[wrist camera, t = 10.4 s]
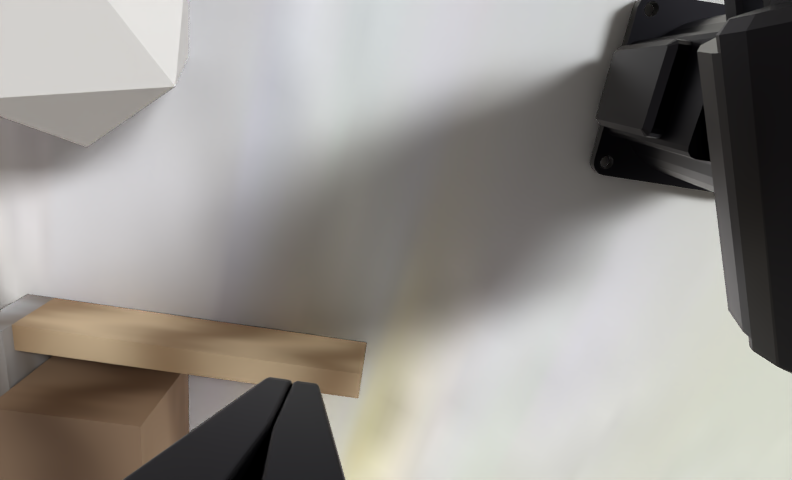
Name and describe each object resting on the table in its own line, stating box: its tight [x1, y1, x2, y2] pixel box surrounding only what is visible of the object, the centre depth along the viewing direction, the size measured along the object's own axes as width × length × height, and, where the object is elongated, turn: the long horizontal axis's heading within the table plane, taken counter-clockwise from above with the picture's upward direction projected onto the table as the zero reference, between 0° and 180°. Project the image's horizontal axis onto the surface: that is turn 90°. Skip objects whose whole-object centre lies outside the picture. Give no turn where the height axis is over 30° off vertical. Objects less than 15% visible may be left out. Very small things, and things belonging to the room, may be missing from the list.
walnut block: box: [0, 356, 189, 480], centre depth 22 cm, size 6×6×4 cm
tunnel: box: [0, 294, 367, 398], centre depth 23 cm, size 16×11×3 cm
